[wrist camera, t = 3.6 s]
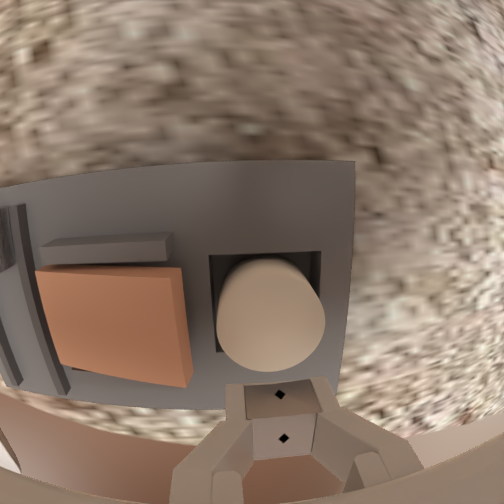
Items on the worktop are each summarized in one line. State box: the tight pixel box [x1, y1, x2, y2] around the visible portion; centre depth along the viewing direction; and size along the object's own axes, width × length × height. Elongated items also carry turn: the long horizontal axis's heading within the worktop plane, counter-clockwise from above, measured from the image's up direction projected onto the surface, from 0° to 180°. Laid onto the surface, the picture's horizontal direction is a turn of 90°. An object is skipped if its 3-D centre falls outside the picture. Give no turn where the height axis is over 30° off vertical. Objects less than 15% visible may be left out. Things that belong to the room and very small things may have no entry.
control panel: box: [0, 160, 355, 410], centre depth 15 cm, size 22×13×6 cm, turn 91°
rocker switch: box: [35, 264, 194, 388], centre depth 13 cm, size 7×5×1 cm
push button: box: [216, 255, 325, 372], centre depth 14 cm, size 4×4×3 cm
